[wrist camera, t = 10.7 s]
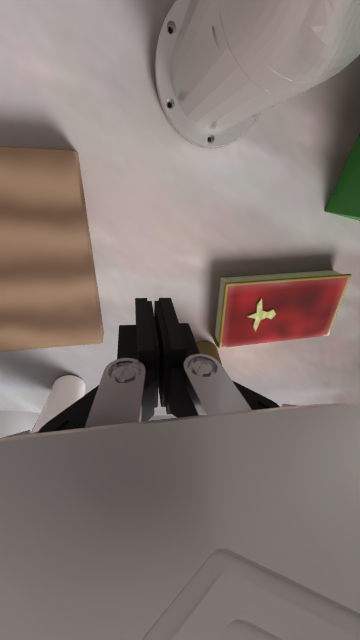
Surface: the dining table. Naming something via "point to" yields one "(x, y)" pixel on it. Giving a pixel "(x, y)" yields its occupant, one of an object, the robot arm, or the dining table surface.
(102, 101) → the dining table surface
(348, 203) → the hardback book
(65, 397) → the drinking glass
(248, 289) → the hardcover book
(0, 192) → the walnut board
